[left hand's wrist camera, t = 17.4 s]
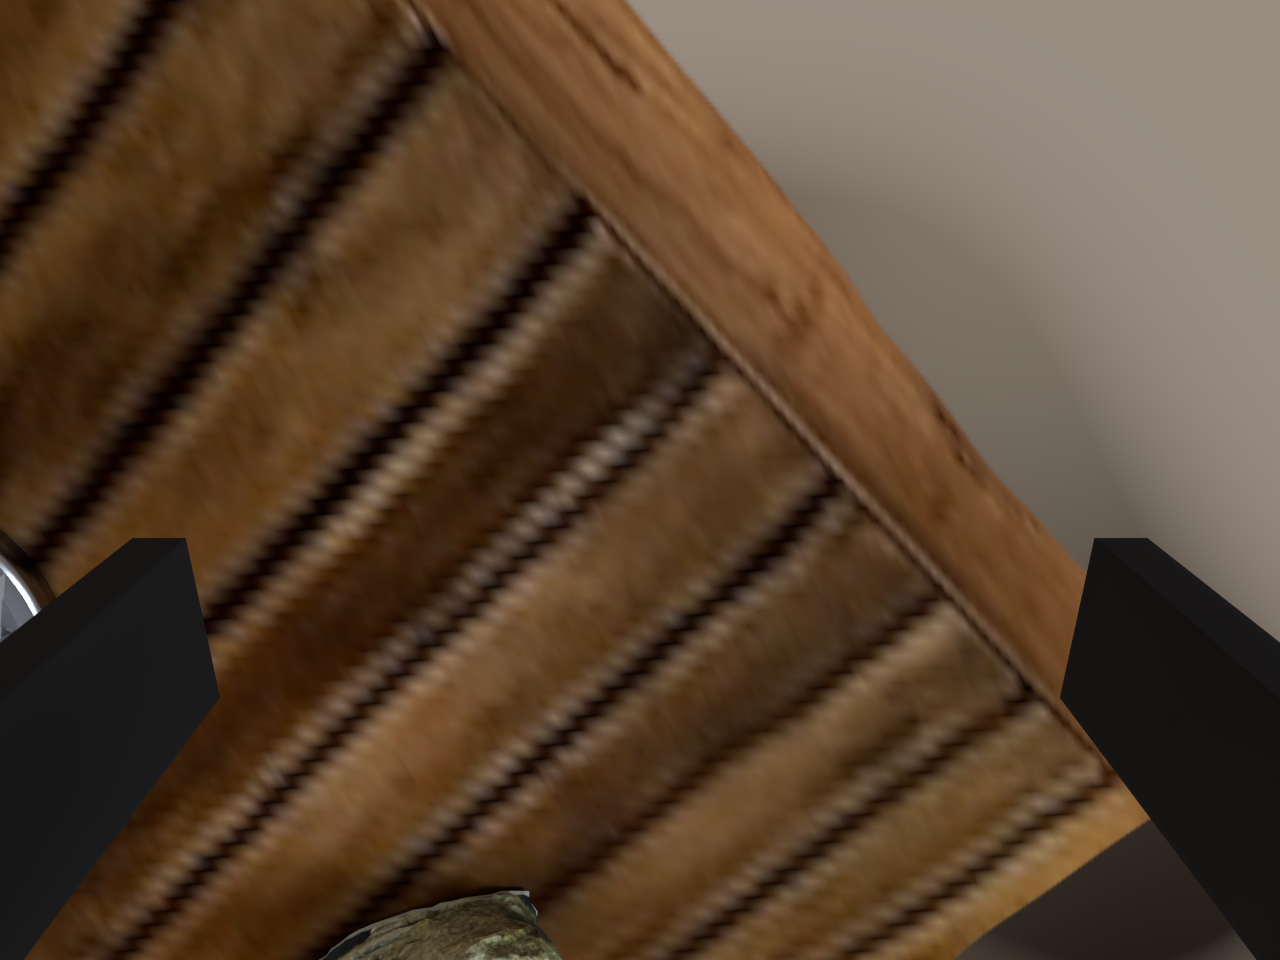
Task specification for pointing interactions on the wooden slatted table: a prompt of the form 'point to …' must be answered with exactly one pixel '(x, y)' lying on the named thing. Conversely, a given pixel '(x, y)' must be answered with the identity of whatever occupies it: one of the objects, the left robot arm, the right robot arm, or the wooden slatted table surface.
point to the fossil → (455, 933)
